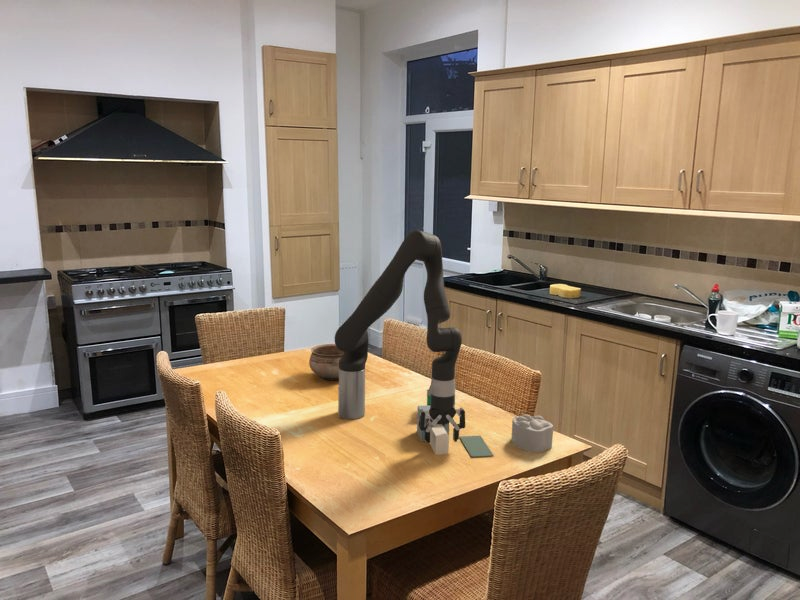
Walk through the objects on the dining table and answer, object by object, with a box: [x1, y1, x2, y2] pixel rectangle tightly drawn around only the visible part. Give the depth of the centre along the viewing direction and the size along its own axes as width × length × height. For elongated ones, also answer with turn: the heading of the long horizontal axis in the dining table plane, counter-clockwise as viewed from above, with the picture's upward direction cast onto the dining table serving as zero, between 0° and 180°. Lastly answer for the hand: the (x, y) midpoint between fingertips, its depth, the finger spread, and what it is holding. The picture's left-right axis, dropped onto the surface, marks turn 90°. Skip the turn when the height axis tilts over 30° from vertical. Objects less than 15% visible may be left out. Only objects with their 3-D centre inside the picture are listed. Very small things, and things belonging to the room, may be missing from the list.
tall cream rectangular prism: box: [429, 423, 450, 456], centre depth 201 cm, size 4×12×6 cm, turn 10°
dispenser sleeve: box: [416, 404, 450, 442], centre depth 208 cm, size 9×9×9 cm
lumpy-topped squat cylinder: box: [510, 414, 554, 454], centre depth 204 cm, size 10×13×9 cm
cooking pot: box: [308, 343, 344, 381], centre depth 265 cm, size 25×19×12 cm
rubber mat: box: [459, 435, 495, 459], centre depth 202 cm, size 7×15×1 cm, turn 9°
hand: (441, 441), depth 198 cm, fingers open, 8 cm apart
